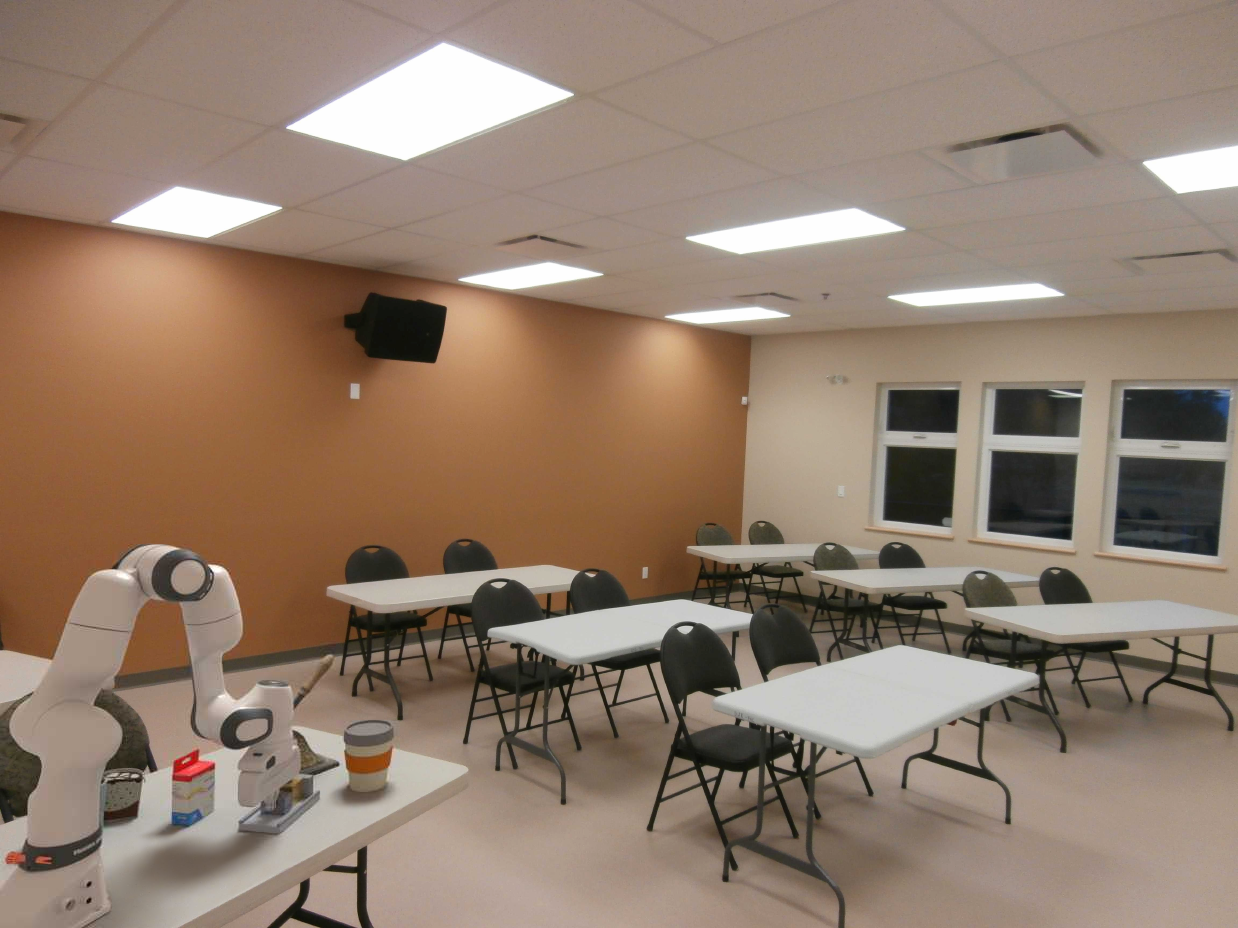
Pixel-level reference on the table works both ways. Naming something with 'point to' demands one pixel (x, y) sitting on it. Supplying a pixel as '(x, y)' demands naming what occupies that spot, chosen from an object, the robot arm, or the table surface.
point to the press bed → (279, 821)
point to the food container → (122, 794)
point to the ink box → (192, 789)
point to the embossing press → (309, 759)
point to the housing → (294, 789)
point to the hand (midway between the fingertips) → (270, 809)
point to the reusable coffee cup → (368, 753)
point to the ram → (280, 804)
